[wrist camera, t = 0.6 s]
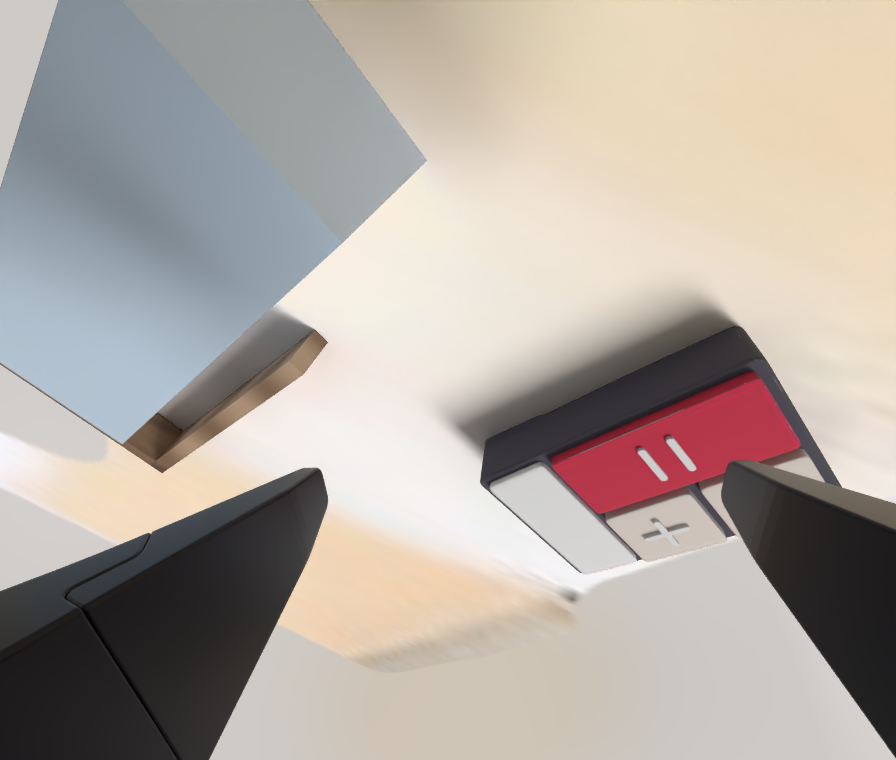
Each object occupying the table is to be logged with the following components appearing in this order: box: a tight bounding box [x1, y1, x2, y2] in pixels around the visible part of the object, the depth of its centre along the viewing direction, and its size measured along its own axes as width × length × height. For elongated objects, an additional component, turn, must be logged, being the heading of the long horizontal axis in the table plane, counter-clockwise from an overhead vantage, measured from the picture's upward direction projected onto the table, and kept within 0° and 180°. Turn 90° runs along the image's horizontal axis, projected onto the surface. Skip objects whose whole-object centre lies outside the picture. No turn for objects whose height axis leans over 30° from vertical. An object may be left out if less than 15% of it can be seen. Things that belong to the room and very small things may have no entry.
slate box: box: [0, 0, 427, 444], centre depth 17 cm, size 16×7×9 cm, turn 130°
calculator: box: [480, 327, 841, 574], centre depth 24 cm, size 11×4×15 cm
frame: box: [0, 330, 328, 473], centre depth 26 cm, size 18×14×3 cm
